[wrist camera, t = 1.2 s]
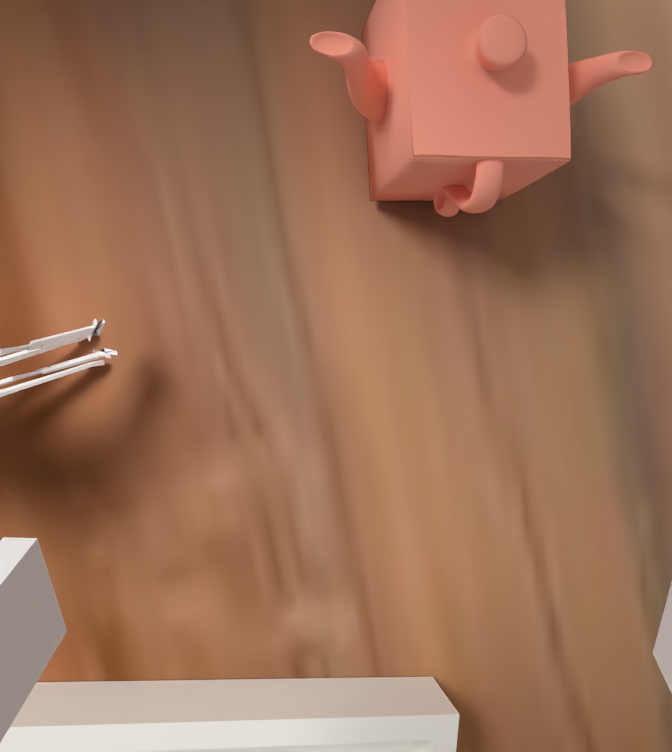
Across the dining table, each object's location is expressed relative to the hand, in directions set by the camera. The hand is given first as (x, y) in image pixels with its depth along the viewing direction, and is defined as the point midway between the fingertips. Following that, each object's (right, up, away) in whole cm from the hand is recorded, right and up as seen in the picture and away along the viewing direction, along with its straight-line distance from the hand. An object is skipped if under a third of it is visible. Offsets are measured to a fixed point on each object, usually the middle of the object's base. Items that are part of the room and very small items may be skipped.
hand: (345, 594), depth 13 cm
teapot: (+5, +18, +19) cm, 26 cm away
